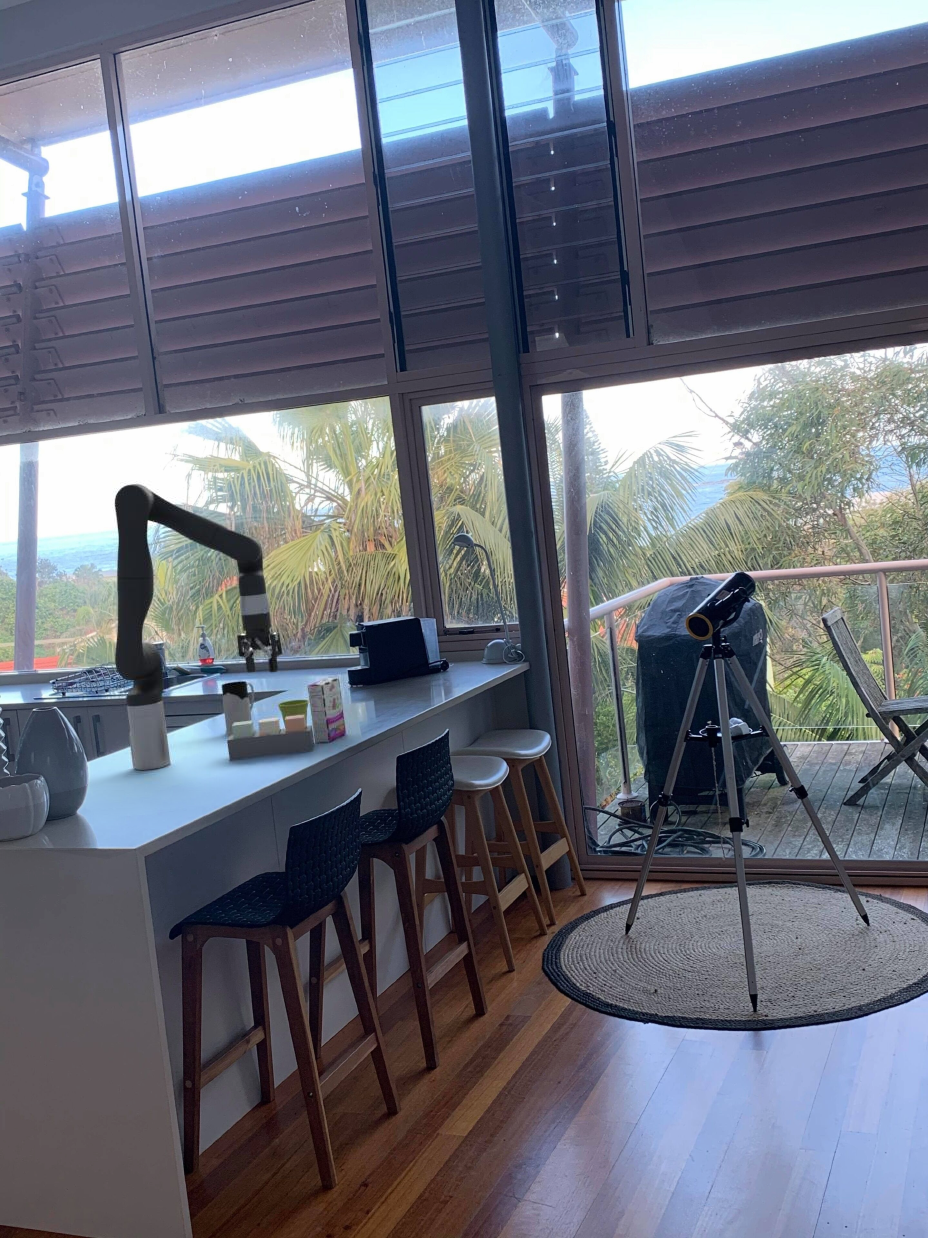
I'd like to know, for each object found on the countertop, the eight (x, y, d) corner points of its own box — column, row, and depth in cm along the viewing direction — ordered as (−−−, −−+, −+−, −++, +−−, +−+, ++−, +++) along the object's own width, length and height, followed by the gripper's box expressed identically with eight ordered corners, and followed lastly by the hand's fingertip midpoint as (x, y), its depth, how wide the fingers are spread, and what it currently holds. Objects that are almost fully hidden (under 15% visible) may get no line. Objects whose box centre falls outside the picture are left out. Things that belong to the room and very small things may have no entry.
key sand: (260, 741, 305) (258, 722, 304) (262, 737, 310) (260, 719, 309) (279, 738, 305) (277, 720, 305) (280, 735, 310) (278, 717, 309)
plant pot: (315, 726, 342) (312, 698, 341) (308, 733, 333) (305, 703, 332) (285, 729, 343) (281, 701, 342) (277, 735, 334) (273, 706, 333)
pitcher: (219, 735, 344) (213, 686, 343) (245, 725, 358) (239, 678, 356) (244, 734, 341) (238, 685, 340) (269, 725, 354) (263, 677, 353)
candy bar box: (330, 734, 326) (324, 678, 324) (346, 734, 324) (340, 677, 323) (313, 743, 315) (306, 684, 314) (329, 742, 314) (323, 683, 312)
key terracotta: (286, 738, 305) (284, 719, 305) (288, 734, 310) (286, 716, 310) (305, 735, 305) (303, 717, 305) (306, 732, 310) (304, 714, 310)
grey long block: (229, 760, 303) (226, 738, 302) (233, 754, 311) (230, 733, 310) (312, 750, 304) (310, 729, 304) (314, 745, 312) (311, 724, 312)
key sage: (234, 744, 304) (231, 725, 304) (236, 740, 309) (234, 722, 309) (253, 742, 304) (250, 723, 304) (254, 738, 309) (252, 720, 309)
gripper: (226, 614, 305) (233, 674, 307) (263, 612, 297) (271, 674, 298) (247, 611, 311) (254, 670, 313) (284, 609, 303) (291, 669, 304)
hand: (262, 672), depth 305 cm, fingers open, 8 cm apart
